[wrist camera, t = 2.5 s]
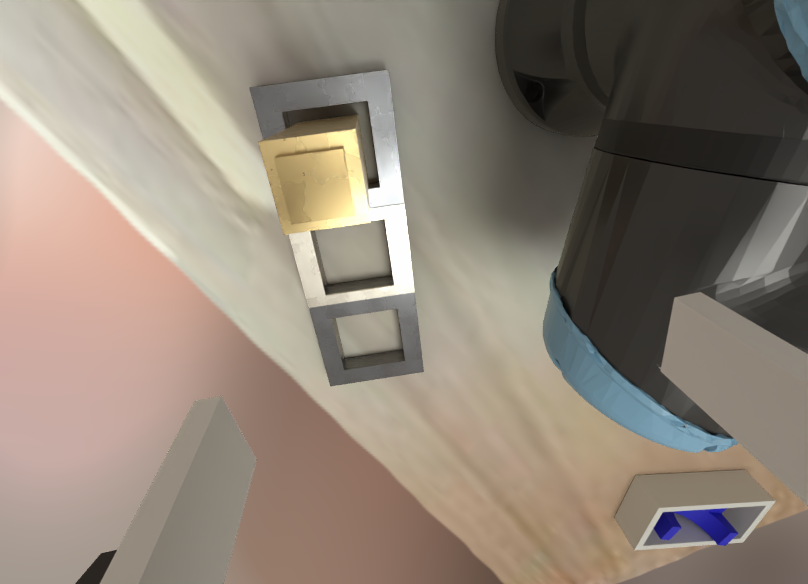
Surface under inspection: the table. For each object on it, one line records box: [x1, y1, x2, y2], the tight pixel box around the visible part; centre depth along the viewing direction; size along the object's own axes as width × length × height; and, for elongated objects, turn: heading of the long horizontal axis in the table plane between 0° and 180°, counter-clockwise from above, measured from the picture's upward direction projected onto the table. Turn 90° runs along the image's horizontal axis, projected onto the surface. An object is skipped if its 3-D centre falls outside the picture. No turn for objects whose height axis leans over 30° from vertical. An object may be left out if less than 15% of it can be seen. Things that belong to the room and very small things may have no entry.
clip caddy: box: [615, 470, 776, 550], centre depth 57 cm, size 10×18×5 cm, turn 86°
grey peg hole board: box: [250, 70, 424, 386], centre depth 35 cm, size 28×10×2 cm, turn 6°
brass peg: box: [258, 114, 371, 235], centre depth 25 cm, size 5×5×15 cm
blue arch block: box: [653, 508, 739, 546], centre depth 57 cm, size 12×4×6 cm, turn 73°
